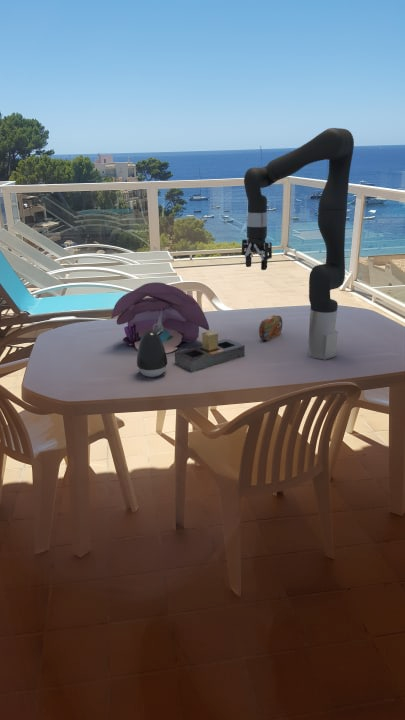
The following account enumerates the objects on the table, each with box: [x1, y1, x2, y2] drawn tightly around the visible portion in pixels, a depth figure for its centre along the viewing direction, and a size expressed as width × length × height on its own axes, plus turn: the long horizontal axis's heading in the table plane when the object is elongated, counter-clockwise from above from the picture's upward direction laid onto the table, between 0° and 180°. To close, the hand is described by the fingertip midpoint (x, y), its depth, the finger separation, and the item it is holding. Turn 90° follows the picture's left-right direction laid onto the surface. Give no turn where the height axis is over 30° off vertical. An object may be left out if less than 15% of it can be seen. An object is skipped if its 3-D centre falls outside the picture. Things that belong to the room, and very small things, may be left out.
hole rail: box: [174, 338, 246, 373], centre depth 177 cm, size 24×10×4 cm, turn 127°
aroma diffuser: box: [136, 330, 168, 378], centre depth 164 cm, size 10×10×15 cm
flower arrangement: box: [110, 281, 210, 354], centre depth 188 cm, size 35×24×28 cm
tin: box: [258, 314, 283, 342], centre depth 199 cm, size 15×3×8 cm, turn 143°
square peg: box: [201, 330, 219, 353], centre depth 176 cm, size 4×4×9 cm
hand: (256, 268), depth 190 cm, fingers open, 8 cm apart
